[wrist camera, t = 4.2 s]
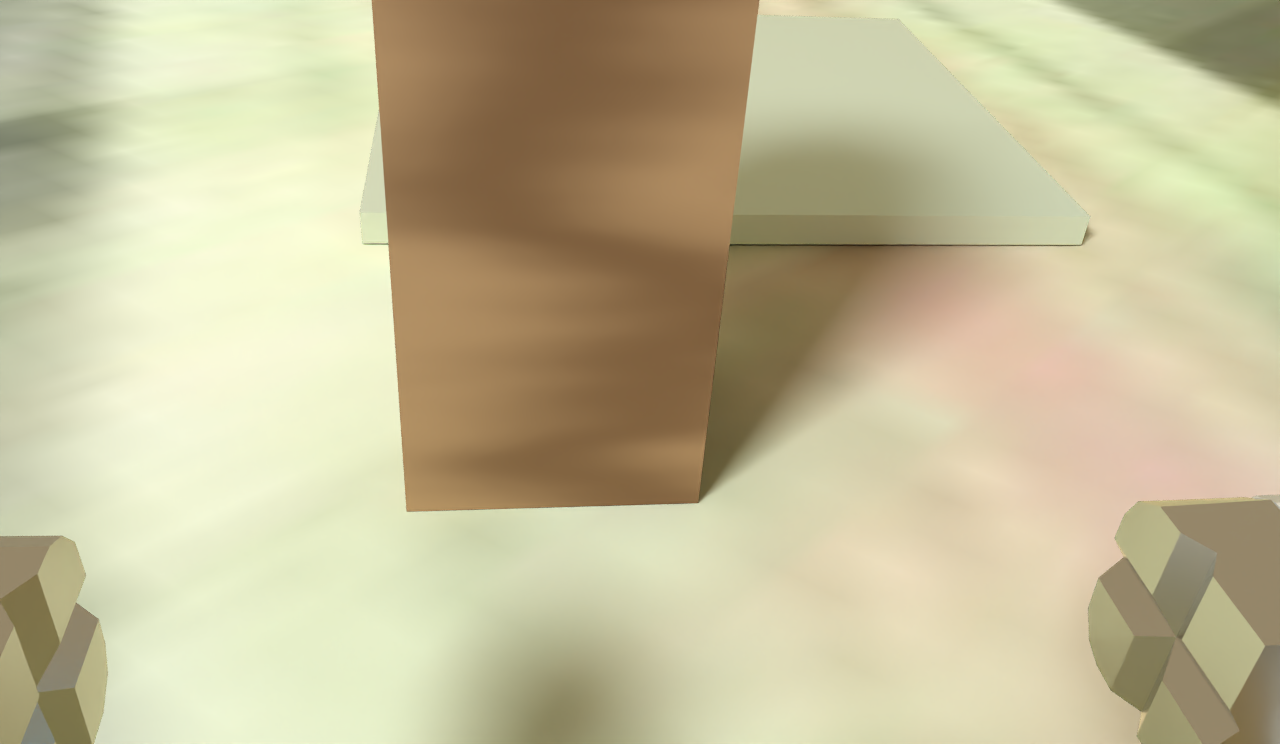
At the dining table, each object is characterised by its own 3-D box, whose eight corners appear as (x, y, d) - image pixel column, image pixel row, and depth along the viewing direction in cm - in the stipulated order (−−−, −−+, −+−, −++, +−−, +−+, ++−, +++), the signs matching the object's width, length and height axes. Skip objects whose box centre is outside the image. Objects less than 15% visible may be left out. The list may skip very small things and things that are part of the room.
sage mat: (894, 40, 42) (898, 19, 42) (1081, 245, 29) (1090, 216, 29) (399, 27, 40) (398, 4, 39) (362, 243, 27) (359, 212, 26)
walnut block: (660, 346, 24) (718, -319, 17) (697, 502, 20) (793, -288, 13) (418, 349, 23) (381, -341, 17) (406, 511, 19) (350, -316, 12)
